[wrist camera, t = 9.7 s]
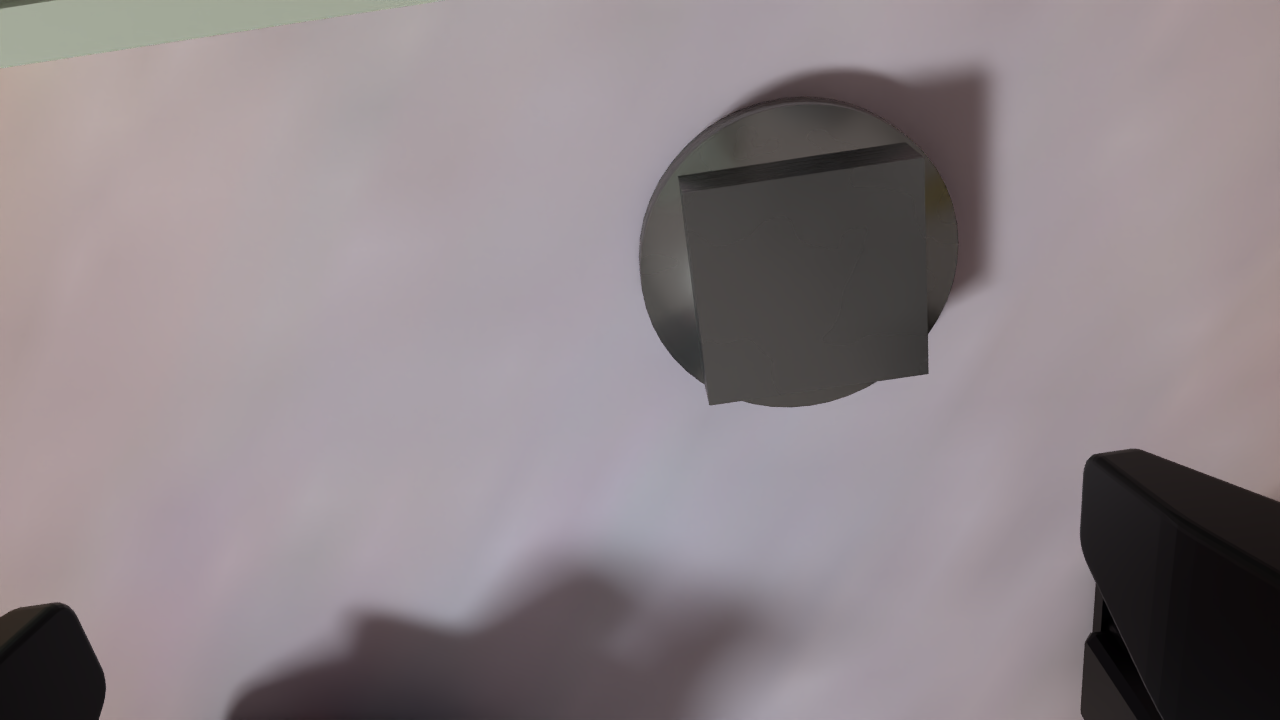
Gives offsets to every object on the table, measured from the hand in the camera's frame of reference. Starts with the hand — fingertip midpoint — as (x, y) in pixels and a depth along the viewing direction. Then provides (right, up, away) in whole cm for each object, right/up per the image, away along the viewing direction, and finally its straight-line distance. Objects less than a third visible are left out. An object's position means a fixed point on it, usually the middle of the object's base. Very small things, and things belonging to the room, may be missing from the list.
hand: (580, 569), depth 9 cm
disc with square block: (+4, +4, +12) cm, 13 cm away
